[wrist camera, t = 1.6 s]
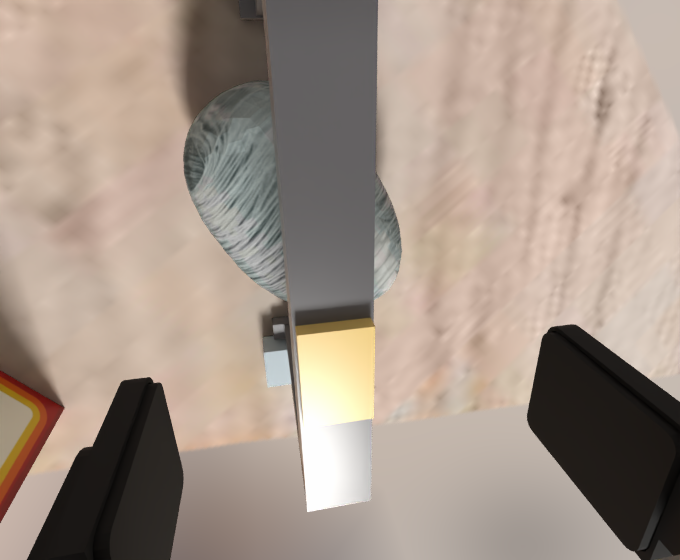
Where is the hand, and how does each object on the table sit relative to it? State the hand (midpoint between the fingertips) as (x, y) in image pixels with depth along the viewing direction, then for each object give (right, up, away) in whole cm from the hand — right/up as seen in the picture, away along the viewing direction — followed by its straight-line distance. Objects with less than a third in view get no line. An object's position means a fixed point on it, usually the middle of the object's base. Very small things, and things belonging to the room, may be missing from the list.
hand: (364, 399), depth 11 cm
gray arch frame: (-3, +9, +17) cm, 19 cm away
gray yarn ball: (-3, +9, +17) cm, 20 cm away
